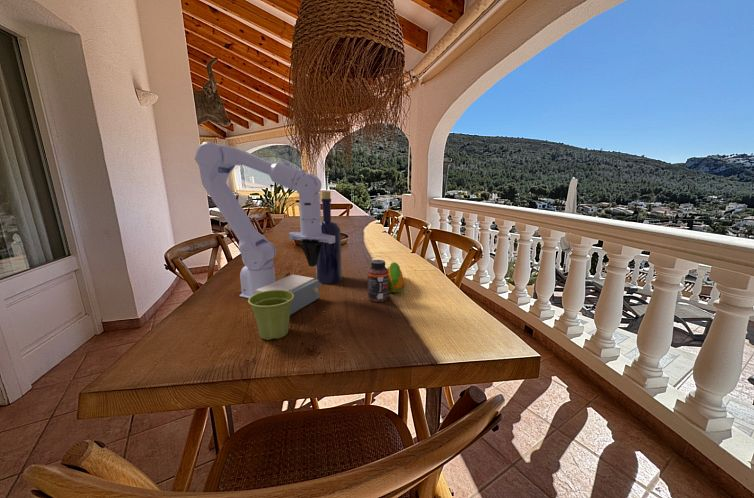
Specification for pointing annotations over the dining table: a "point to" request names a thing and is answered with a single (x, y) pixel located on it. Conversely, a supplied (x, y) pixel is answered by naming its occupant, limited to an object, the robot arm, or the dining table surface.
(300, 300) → the door
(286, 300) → the plant pot
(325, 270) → the bottle
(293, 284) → the cabinet
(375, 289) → the supplement bottle
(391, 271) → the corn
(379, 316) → the dining table surface
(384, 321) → the dining table surface
